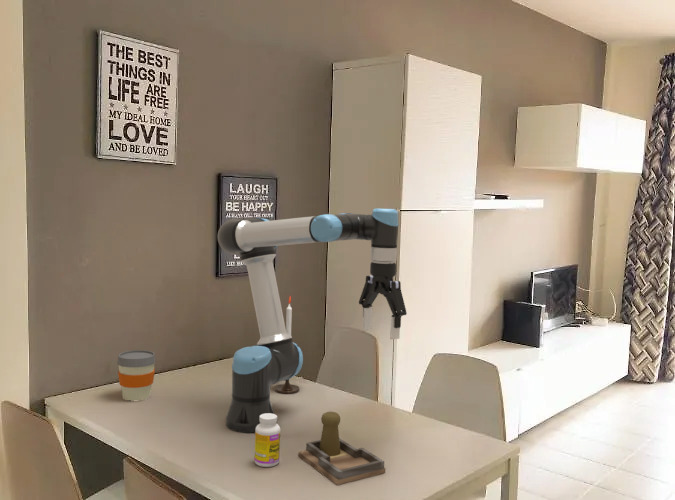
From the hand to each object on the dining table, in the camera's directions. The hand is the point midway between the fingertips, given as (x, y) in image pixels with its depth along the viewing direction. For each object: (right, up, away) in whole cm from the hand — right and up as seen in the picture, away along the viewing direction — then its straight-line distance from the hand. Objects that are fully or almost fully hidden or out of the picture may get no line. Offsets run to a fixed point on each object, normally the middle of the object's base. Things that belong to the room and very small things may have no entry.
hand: (380, 334), depth 189 cm
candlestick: (-31, -27, +46) cm, 62 cm away
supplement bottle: (-31, -33, -16) cm, 48 cm away
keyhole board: (-12, -33, -16) cm, 38 cm away
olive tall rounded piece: (-15, -31, -11) cm, 36 cm away
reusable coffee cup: (-82, -26, +33) cm, 92 cm away
